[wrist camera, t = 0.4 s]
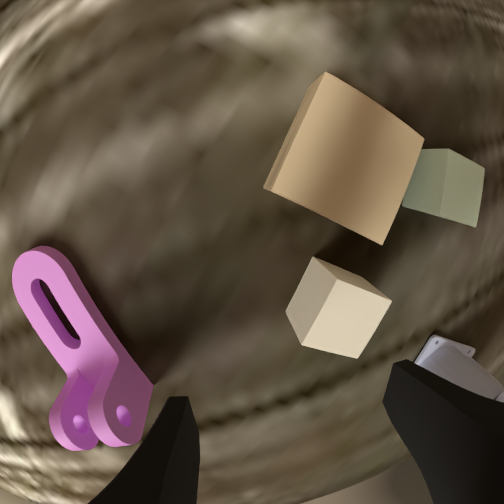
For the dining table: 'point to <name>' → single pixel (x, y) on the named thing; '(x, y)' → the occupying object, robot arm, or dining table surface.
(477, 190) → the sage cube
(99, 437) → the bracket
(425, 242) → the dining table surface
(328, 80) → the oak slab
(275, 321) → the dining table surface
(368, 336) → the cream cube
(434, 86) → the dining table surface
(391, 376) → the robot arm
